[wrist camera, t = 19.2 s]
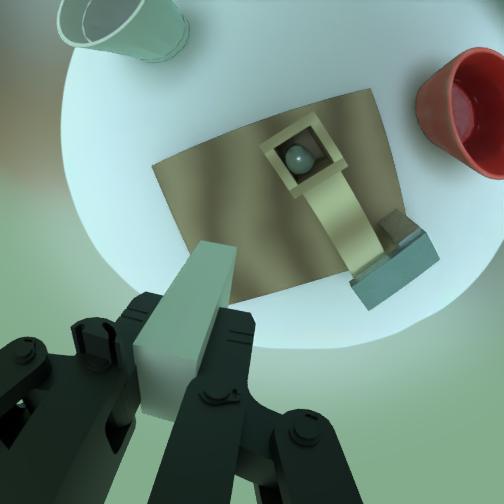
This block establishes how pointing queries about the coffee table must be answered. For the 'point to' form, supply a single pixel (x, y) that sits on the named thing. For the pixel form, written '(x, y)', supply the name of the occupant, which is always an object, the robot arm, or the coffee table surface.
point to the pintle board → (279, 194)
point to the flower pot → (467, 110)
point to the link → (329, 195)
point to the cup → (124, 27)
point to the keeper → (395, 261)
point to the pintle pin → (298, 158)
